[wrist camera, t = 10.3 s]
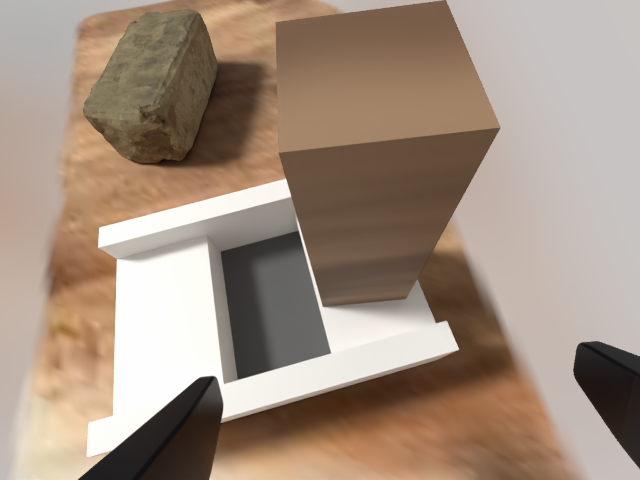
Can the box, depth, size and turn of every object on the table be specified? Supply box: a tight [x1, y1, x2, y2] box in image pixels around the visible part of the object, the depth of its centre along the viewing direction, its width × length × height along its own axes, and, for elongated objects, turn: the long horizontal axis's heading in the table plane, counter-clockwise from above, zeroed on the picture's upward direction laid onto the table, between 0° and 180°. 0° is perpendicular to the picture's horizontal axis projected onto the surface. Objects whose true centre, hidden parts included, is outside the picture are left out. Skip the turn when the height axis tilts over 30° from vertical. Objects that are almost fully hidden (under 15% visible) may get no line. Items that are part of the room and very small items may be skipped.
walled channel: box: [87, 179, 459, 457], centre depth 17 cm, size 10×15×4 cm
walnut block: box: [276, 0, 500, 307], centre depth 12 cm, size 4×4×11 cm
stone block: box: [83, 9, 218, 163], centre depth 24 cm, size 6×12×5 cm, turn 176°
